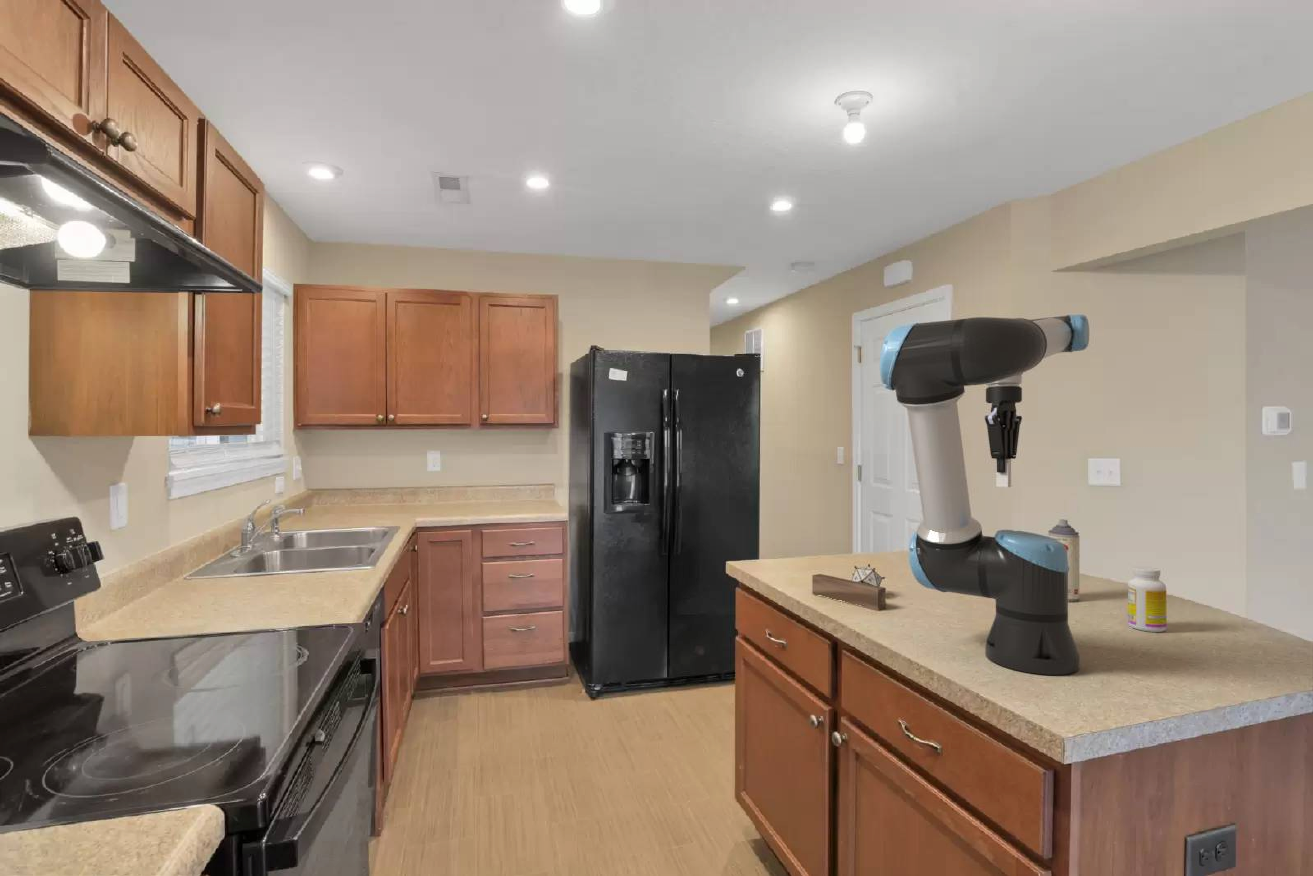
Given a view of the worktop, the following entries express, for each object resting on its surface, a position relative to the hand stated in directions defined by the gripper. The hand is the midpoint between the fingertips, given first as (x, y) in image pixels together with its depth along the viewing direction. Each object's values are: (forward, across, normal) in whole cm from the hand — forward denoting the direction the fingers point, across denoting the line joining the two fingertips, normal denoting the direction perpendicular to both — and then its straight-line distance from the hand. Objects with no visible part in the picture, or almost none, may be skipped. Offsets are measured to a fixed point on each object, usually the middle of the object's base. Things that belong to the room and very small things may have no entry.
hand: (1003, 486), depth 157 cm
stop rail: (+29, -22, +28) cm, 46 cm away
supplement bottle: (+30, +11, -25) cm, 40 cm away
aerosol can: (+30, +24, -3) cm, 38 cm away
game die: (+30, -14, +28) cm, 43 cm away
